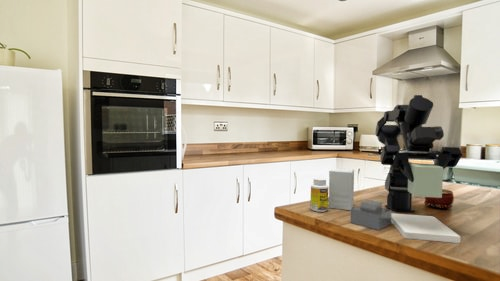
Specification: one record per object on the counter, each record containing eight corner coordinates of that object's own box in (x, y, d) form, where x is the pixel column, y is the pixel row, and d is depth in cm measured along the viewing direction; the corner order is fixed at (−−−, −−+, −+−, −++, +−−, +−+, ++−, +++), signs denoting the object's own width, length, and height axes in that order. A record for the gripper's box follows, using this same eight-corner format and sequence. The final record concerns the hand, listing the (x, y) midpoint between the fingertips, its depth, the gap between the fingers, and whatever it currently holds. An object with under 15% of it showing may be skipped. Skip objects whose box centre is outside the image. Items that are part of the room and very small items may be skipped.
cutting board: (388, 218, 86) (388, 213, 86) (432, 221, 84) (433, 216, 84) (404, 238, 71) (405, 232, 71) (460, 243, 68) (460, 236, 68)
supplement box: (353, 205, 100) (355, 169, 99) (351, 211, 93) (352, 172, 93) (332, 202, 103) (333, 167, 103) (328, 207, 97) (328, 170, 96)
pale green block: (407, 190, 78) (408, 163, 78) (432, 192, 77) (433, 164, 77) (415, 196, 73) (416, 166, 72) (441, 197, 71) (443, 167, 71)
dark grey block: (363, 216, 87) (364, 197, 87) (391, 223, 81) (391, 202, 81) (350, 222, 82) (351, 201, 82) (378, 230, 76) (379, 207, 76)
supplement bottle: (319, 213, 90) (320, 180, 90) (306, 209, 95) (307, 178, 94) (331, 210, 93) (332, 179, 93) (318, 206, 98) (319, 176, 97)
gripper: (384, 116, 80) (393, 160, 70) (461, 116, 76) (482, 163, 65) (377, 143, 88) (384, 186, 78) (446, 144, 84) (463, 190, 74)
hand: (426, 181), depth 73 cm, fingers closed on pale green block, 6 cm apart
